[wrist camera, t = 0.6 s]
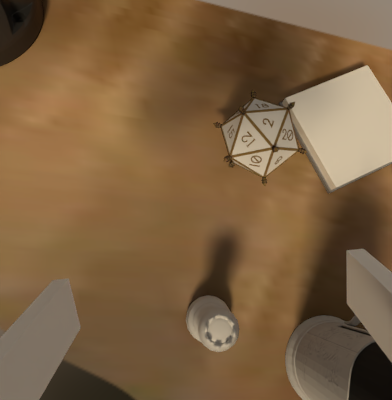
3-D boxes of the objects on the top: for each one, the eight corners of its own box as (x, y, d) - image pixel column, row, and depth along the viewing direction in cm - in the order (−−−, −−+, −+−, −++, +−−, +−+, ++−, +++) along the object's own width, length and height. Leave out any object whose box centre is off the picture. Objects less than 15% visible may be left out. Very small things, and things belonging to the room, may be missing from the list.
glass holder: (274, 392, 31) (368, 494, 17) (311, 252, 35) (415, 235, 20) (359, 424, 31) (528, 554, 16) (388, 281, 35) (548, 284, 20)
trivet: (278, 104, 38) (282, 97, 37) (360, 71, 40) (368, 63, 39) (328, 193, 36) (335, 190, 35) (412, 154, 38) (422, 148, 37)
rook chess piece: (196, 350, 31) (205, 374, 24) (178, 306, 32) (181, 315, 24) (237, 330, 32) (259, 347, 24) (219, 287, 33) (234, 290, 25)
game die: (249, 150, 41) (310, 90, 34) (267, 206, 36) (342, 149, 30) (189, 128, 36) (247, 53, 30) (202, 189, 31) (275, 116, 25)
